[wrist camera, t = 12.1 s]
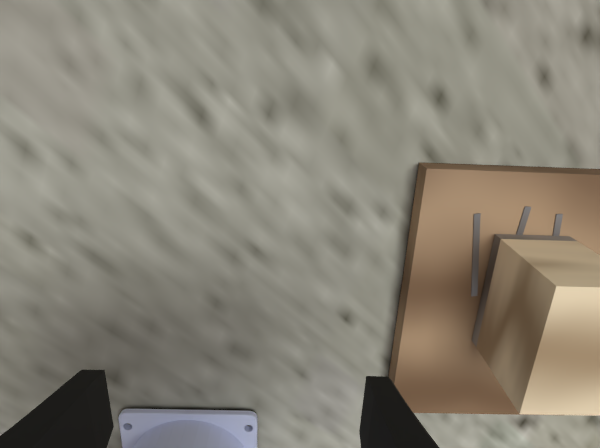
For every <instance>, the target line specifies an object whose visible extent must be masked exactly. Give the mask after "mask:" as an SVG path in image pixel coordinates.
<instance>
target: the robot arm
mask: <svg viewBox="0 0 600 448" xmlns="http://www.w3.org/2000/svg"><path fill="white" fill-rule="evenodd" d="M118 420H119V427H120V434H121V441H122V448H257V430H258V417H257V414H256V413H255V412H253V411H238V410H179V409H124V410H122V411H121V413H120V415H119V418H118ZM127 423H129V424H127ZM130 424H131V425H130ZM246 425H251V426H250V427H249V426H246ZM113 427H114V426H113V420H112V414H111V408H110V402H109V395H108V389H107V383H106V377H105V370H81V371H80V372H79V373H77V374H76V375H75V376H73V377H72V378H71V379H70V380H69V381H67V382H66V383H65V384H64V385H63V386H61V387H60V388H59V389H58V390H57V391H55V392H54V393H53V394H52V395H51V396H49V397H48V398H47V399H46V400H45V401H43V402H42V403H41V404H40V405H39V406H37V407H36V408H35V409H34V410H32V411H31V412H30V413H29V414H28V415H26V416H25V417H24V418H23V419H21V420H20V421H19V422H18V423H16V424H15V425H14V426H13V427H11V428H10V429H9V430H8V431H6V432H5V433H4V434H2V435H1V436H0V448H107V445H108V442H109V439H110V436H111V433H112V430H113ZM360 440H361V448H439V447H438V445H437V444H436V443H435V442H434V440H433V439H432V438H431V436H430V435H429V434H428V432H427V431H426V430H425V428H424V427H423V426H422V424H421V423H420V422H419V420H418V419H417V417H416V416H415V415H414V413H413V412H412V410H411V409H410V407H409V406H408V405H407V403H406V402H405V400H404V399H403V397H402V396H401V394H400V393H399V391H398V390H397V388H396V386H395V385H394V383H393V382H392V380H391V379H390V378H389V377H376V376H366V384H365V392H364V400H363V408H362V416H361V424H360Z"/></svg>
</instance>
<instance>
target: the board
mask: <svg viewBox="0 0 600 448" xmlns="http://www.w3.org/2000/svg"><path fill="white" fill-rule="evenodd" d="M495 234H512V235H546V236H570V237H572V238H573V239H575V240H576V241H578V242H579V243H581V244H583V245H584V246H586V247H587V248H589V249H591V250H592V251H594V252H595V253H597V254H598V255H600V169H579V168H552V167H525V166H498V165H471V164H444V163H419V168H418V175H417V182H416V189H415V196H414V202H413V209H412V216H411V223H410V230H409V237H408V244H407V251H406V258H405V265H404V272H403V279H402V286H401V293H400V300H399V307H398V314H397V321H396V328H395V335H394V342H393V349H392V356H391V363H390V370H389V378H390V379H391V380H392V382H393V383H394V385H395V386H396V388H397V390H398V391H399V393H400V394H401V396H402V397H403V399H404V400H405V402H406V403H407V405H408V406H409V407H410V409H411V410H412V412H413V413H463V414H519V413H518V411H517V410H516V408H515V407H514V405H513V403H512V402H511V400H510V399H509V397H508V396H507V394H506V393H505V391H504V390H503V388H502V386H501V385H500V383H499V382H498V380H497V379H496V377H495V376H494V374H493V372H492V371H491V369H490V368H489V366H488V365H487V363H486V362H485V360H484V359H483V357H482V355H481V354H480V352H479V351H478V349H477V348H476V346H475V345H474V343H473V342H472V336H473V332H474V327H475V322H476V318H477V313H478V309H479V304H480V300H481V295H482V291H483V286H484V282H485V277H486V272H487V268H488V263H489V259H490V254H491V250H492V245H493V241H494V236H495ZM522 415H536V414H522Z"/></svg>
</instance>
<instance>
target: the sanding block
mask: <svg viewBox="0 0 600 448" xmlns="http://www.w3.org/2000/svg"><path fill="white" fill-rule="evenodd" d="M472 342H473V343H474V345H475V346H476V348H477V349H478V351H479V352H480V354H481V355H482V357H483V359H484V360H485V362H486V363H487V365H488V366H489V368H490V369H491V371H492V372H493V374H494V376H495V377H496V379H497V380H498V382H499V383H500V385H501V386H502V388H503V390H504V391H505V393H506V394H507V396H508V397H509V399H510V400H511V402H512V403H513V405H514V407H515V408H516V410H517V411H518V413H519V414H536V415H598V416H600V255H598V254H597V253H595V252H594V251H592V250H591V249H589V248H587V247H586V246H584V245H583V244H581V243H579V242H578V241H576V240H575V239H573V238H572V237H570V236H546V235H512V234H495V236H494V241H493V245H492V250H491V254H490V259H489V263H488V268H487V272H486V277H485V282H484V286H483V291H482V295H481V300H480V304H479V309H478V313H477V318H476V322H475V327H474V332H473V336H472Z"/></svg>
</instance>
